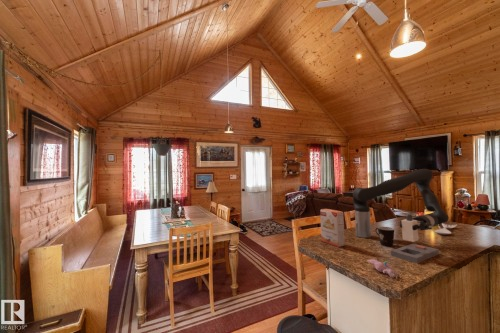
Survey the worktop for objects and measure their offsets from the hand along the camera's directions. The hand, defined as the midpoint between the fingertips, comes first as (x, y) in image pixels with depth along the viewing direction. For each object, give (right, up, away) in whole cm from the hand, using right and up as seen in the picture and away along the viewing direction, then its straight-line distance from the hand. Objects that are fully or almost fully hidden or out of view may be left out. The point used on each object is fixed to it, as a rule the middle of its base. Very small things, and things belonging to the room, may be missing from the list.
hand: (407, 227), depth 113 cm
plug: (+3, -7, +1) cm, 7 cm away
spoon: (+59, -16, +44) cm, 76 cm away
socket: (+6, -15, +3) cm, 17 cm away
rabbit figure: (-22, -16, -16) cm, 31 cm away
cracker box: (-29, -18, +25) cm, 42 cm away
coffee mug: (+2, -16, +21) cm, 26 cm away
